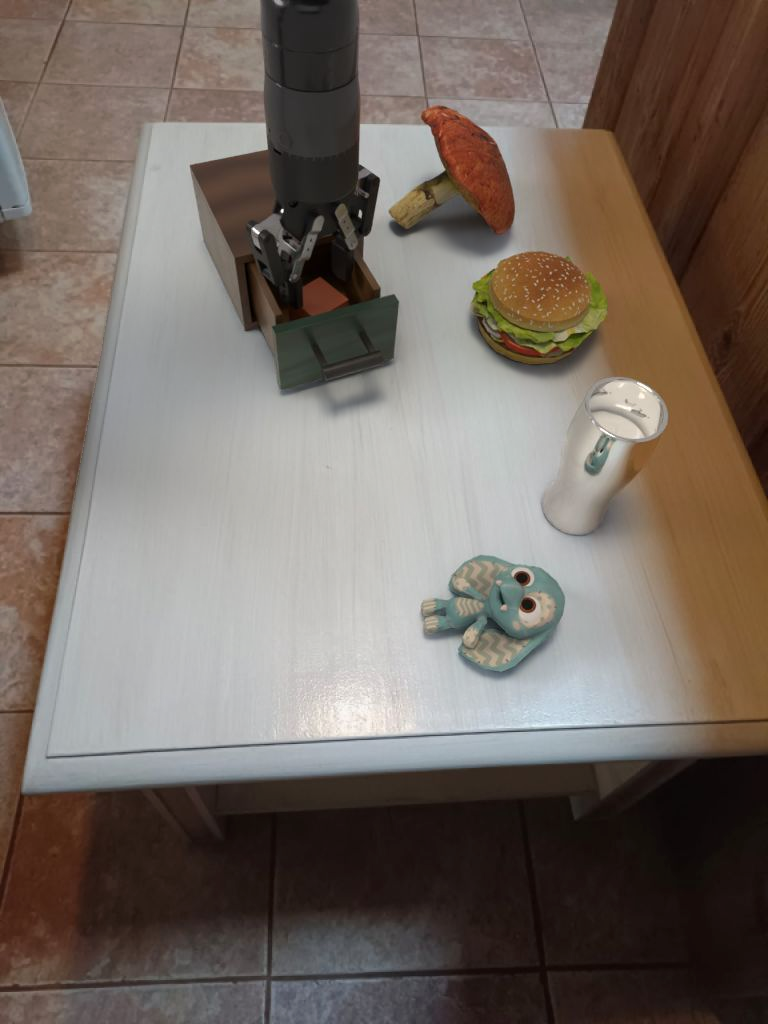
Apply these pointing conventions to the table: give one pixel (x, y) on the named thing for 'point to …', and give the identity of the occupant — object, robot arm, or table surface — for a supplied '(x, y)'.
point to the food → (537, 307)
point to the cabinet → (236, 218)
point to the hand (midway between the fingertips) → (317, 289)
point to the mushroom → (461, 173)
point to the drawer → (325, 323)
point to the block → (318, 300)
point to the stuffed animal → (498, 610)
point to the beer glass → (603, 452)
